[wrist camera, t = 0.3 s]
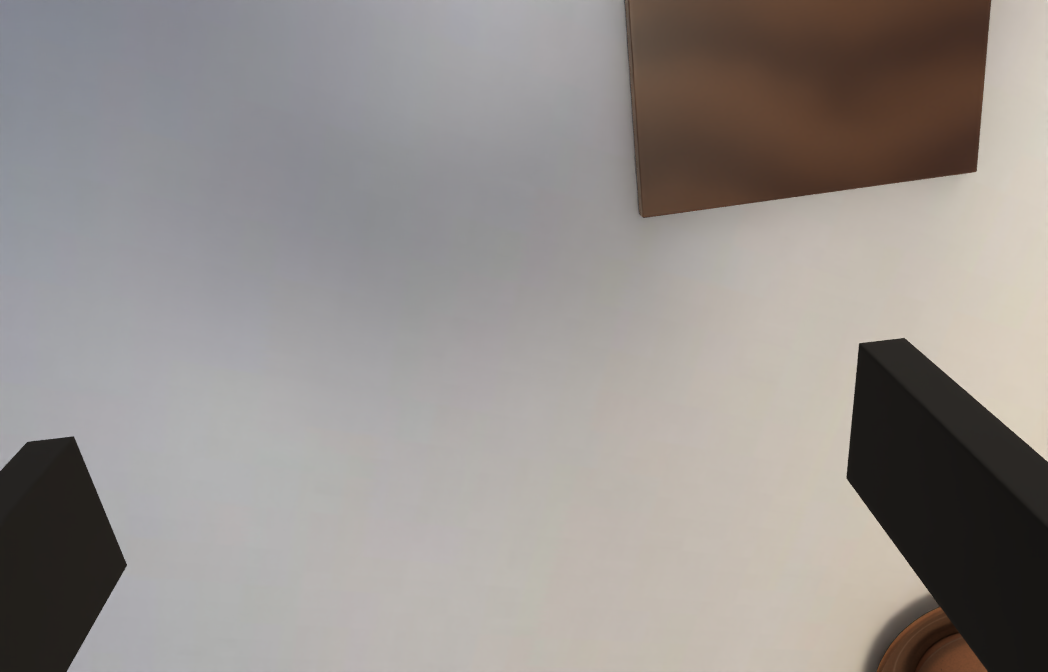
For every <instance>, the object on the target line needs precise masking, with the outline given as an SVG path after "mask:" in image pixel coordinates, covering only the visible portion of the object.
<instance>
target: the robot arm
mask: <svg viewBox="0 0 1048 672" xmlns="http://www.w3.org/2000/svg"><path fill="white" fill-rule="evenodd" d="M847 480H848V481H849V482H850V484H851V485H852V487H853V488H854V489H855V491H856V492H857V493H858V495H859V496H860V497H861V499H862V500H863V502H864V503H865V504H866V506H867V507H868V508H869V510H870V511H871V513H872V514H873V515H874V517H875V518H876V519H877V521H878V522H879V523H880V525H881V526H882V528H883V529H884V530H885V532H886V533H887V534H888V536H889V537H890V539H891V540H892V541H893V543H894V544H895V545H896V547H897V548H898V550H899V551H900V552H901V554H902V555H903V556H904V558H905V559H906V560H907V562H908V563H909V565H910V566H911V567H912V569H913V570H914V571H915V573H916V574H917V576H918V577H919V578H920V580H921V581H922V582H923V584H924V585H925V586H926V588H927V589H928V591H929V592H930V593H931V595H932V596H933V597H934V599H935V600H936V602H937V603H938V604H939V606H940V607H941V608H942V610H943V611H944V613H945V614H946V615H947V617H948V618H949V619H950V621H951V622H952V623H953V625H954V626H955V628H956V629H957V630H958V632H959V633H960V634H961V636H962V637H963V639H964V640H965V641H966V643H967V644H968V645H969V647H970V648H971V649H972V651H973V652H974V654H975V655H976V656H977V658H978V659H979V660H980V662H981V663H982V665H983V666H984V667H985V669H986V670H987V671H988V672H1048V462H1047V461H1046V460H1045V459H1044V458H1043V457H1041V456H1040V455H1039V454H1038V453H1037V452H1036V451H1035V450H1033V449H1032V448H1031V447H1030V446H1029V445H1028V444H1026V443H1025V442H1024V441H1023V440H1022V439H1021V438H1019V437H1018V436H1017V435H1016V434H1015V433H1014V432H1013V431H1011V430H1010V429H1009V428H1008V427H1007V426H1006V425H1004V424H1003V423H1002V422H1001V421H1000V420H999V419H998V418H996V417H995V416H994V415H993V414H992V413H991V412H989V411H988V410H987V409H986V408H985V407H984V406H982V405H981V404H980V403H979V402H978V401H977V400H976V399H974V398H973V397H972V396H971V395H970V394H969V393H967V392H966V391H965V390H964V389H963V388H962V387H960V386H959V385H958V384H957V383H956V382H955V381H954V380H952V379H951V378H950V377H949V376H948V375H947V374H945V373H944V372H943V371H942V370H941V369H940V368H939V367H937V366H936V365H935V364H934V363H933V362H932V361H930V360H929V359H928V358H927V357H926V356H925V355H923V354H922V353H921V352H920V351H919V350H918V349H917V348H915V347H914V346H913V345H912V344H911V343H910V342H908V341H907V340H906V339H905V338H901V339H892V340H884V341H876V342H867V343H859V352H858V362H857V373H856V383H855V394H854V404H853V415H852V425H851V436H850V446H849V457H848V467H847ZM126 566H127V564H126V562H125V559H124V557H123V554H122V552H121V549H120V547H119V545H118V542H117V540H116V537H115V535H114V532H113V530H112V528H111V525H110V523H109V520H108V518H107V516H106V513H105V511H104V508H103V506H102V503H101V501H100V499H99V496H98V494H97V491H96V489H95V486H94V484H93V482H92V479H91V477H90V474H89V472H88V470H87V467H86V465H85V462H84V460H83V457H82V455H81V453H80V450H79V448H78V445H77V443H76V440H75V438H74V437H65V438H57V439H48V440H40V441H31V442H27V443H26V444H25V445H24V446H23V447H22V448H21V449H20V451H19V452H18V453H17V454H16V455H15V456H14V457H13V458H12V459H11V460H10V461H9V462H8V464H7V465H6V466H5V467H4V468H3V469H2V470H1V471H0V672H67V670H68V668H69V666H70V665H71V663H72V661H73V659H74V657H75V656H76V654H77V652H78V650H79V649H80V647H81V645H82V643H83V642H84V640H85V638H86V636H87V635H88V633H89V631H90V629H91V628H92V626H93V624H94V622H95V621H96V619H97V617H98V615H99V613H100V612H101V610H102V608H103V606H104V605H105V603H106V601H107V599H108V598H109V596H110V594H111V592H112V591H113V589H114V587H115V585H116V584H117V582H118V580H119V578H120V577H121V575H122V573H123V571H124V570H125V568H126Z"/></svg>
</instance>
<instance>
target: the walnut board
mask: <svg viewBox="0 0 1048 672" xmlns="http://www.w3.org/2000/svg"><path fill="white" fill-rule="evenodd" d="M990 7H991V0H625V10H626V25H627V39H628V54H629V69H630V83H631V98H632V113H633V127H634V142H635V157H636V172H637V186H638V201H639V214H640V215H641V216H642V217H643V218H646V217H654V216H661V215H668V214H675V213H683V212H690V211H697V210H704V209H712V208H719V207H726V206H733V205H740V204H748V203H755V202H762V201H769V200H777V199H784V198H791V197H798V196H805V195H813V194H820V193H827V192H834V191H842V190H849V189H856V188H863V187H871V186H878V185H885V184H892V183H899V182H907V181H914V180H921V179H928V178H936V177H943V176H950V175H957V174H964V173H972V172H976V171H977V160H978V149H979V137H980V125H981V113H982V102H983V90H984V78H985V66H986V54H987V43H988V31H989V19H990Z"/></svg>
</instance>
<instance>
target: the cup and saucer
mask: <svg viewBox="0 0 1048 672" xmlns="http://www.w3.org/2000/svg"><path fill="white" fill-rule="evenodd" d="M877 672H988V671H987V670H986V669H985V667H984V666H983V665H982V663H981V662H980V660H979V659H978V658H977V656H976V655H975V654H974V652H973V651H972V649H971V648H970V647H969V645H968V644H967V643H966V641H965V640H964V639H963V637H962V636H961V634H960V633H959V632H958V630H957V629H956V628H955V626H954V625H953V623H952V622H951V621H950V619H949V618H948V617H947V615H946V614H945V613H944V611H943V610H942V608H941V607H938V608H936V609H934V610H932V611H930V612H928V613H926V614H925V615H923V616H921V617H920V618H918V619H917V620H915V621H914V622H913V623H911V624H910V625H909V626H908V627H907V628H905V629H904V630H903V631H902V632H901V633H900V634H899V635H898V636H897V637H896V639H895V640H894V641H893V642H892V644H891V645H890V646H889V648H888V649H887V651H886V653H885V654H884V656H883V658H882V660H881V662H880V664H879V667H878V669H877Z"/></svg>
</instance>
